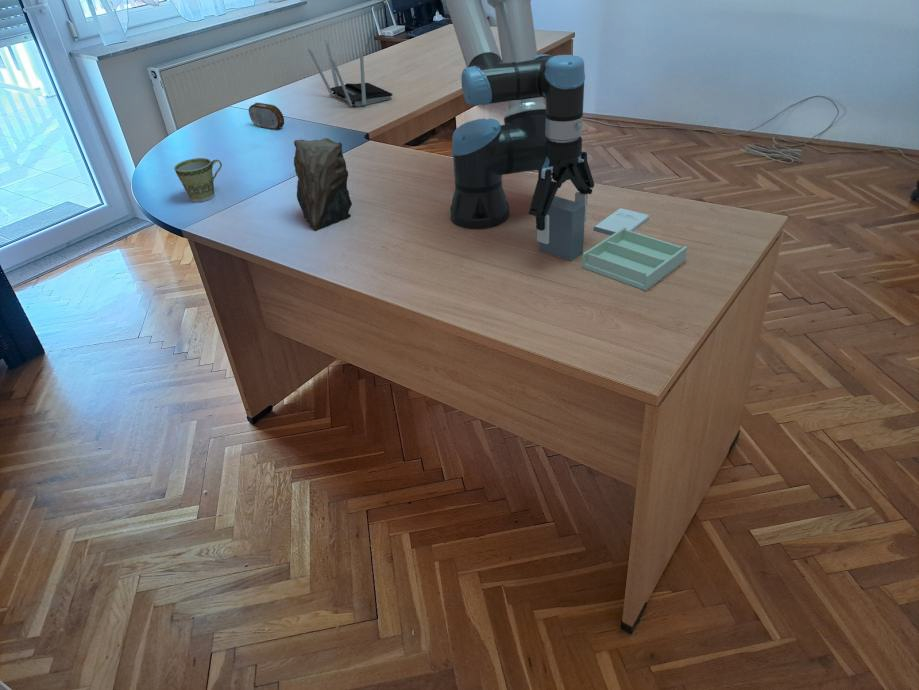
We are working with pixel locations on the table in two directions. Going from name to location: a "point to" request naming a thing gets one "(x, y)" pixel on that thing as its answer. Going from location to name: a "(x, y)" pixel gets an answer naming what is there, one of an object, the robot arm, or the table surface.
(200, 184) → the ceramic cup
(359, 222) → the table surface
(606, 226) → the external hard drive
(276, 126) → the tin
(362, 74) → the wireless router
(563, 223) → the blue-grey rectangular block
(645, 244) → the green divided tray
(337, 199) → the rock
